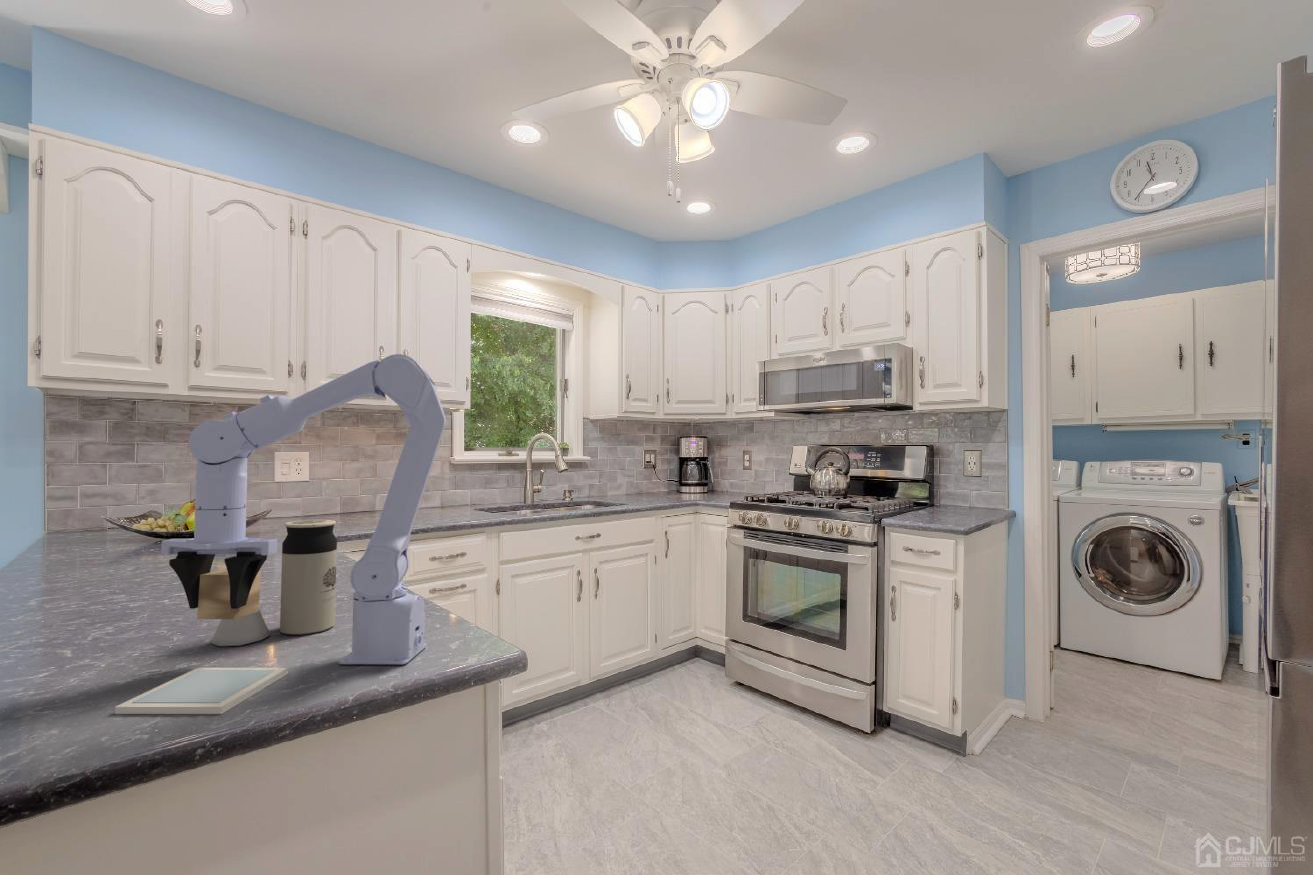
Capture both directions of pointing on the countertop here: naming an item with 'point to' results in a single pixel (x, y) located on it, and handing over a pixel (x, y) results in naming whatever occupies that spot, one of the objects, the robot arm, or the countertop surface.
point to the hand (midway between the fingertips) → (218, 606)
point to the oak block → (224, 597)
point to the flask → (241, 630)
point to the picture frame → (203, 691)
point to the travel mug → (308, 577)
